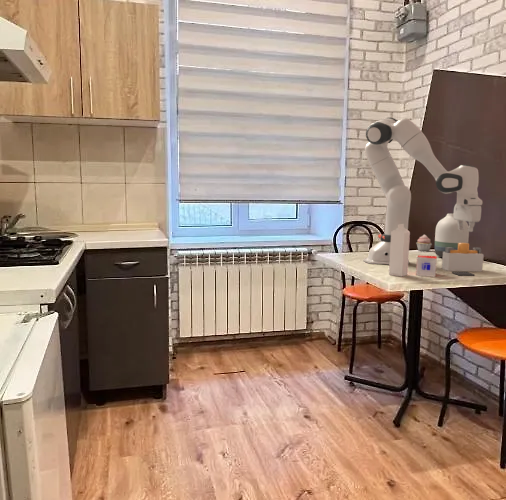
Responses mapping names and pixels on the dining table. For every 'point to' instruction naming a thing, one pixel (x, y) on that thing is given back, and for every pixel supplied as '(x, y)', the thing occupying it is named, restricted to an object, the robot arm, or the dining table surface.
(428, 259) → the white printed cube
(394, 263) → the milk
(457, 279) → the dining table surface
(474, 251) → the cap
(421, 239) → the cupcake
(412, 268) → the dining table surface
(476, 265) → the white rectangular block
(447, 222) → the vase
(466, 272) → the mat
